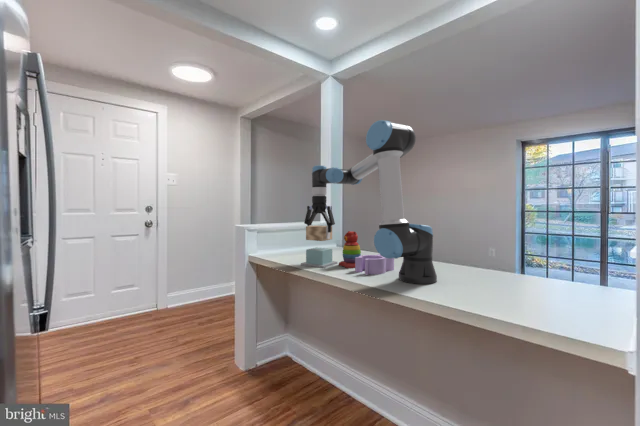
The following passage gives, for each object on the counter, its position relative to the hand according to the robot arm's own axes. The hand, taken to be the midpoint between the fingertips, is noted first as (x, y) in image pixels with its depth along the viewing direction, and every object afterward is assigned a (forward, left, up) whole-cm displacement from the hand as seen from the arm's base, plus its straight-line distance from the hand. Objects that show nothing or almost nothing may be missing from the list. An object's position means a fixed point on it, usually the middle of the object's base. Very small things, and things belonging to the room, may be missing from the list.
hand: (319, 238), depth 166 cm
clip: (-31, 0, -14) cm, 35 cm away
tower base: (0, 0, -14) cm, 14 cm away
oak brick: (0, 0, -1) cm, 1 cm away
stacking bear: (-16, -5, -14) cm, 22 cm away
